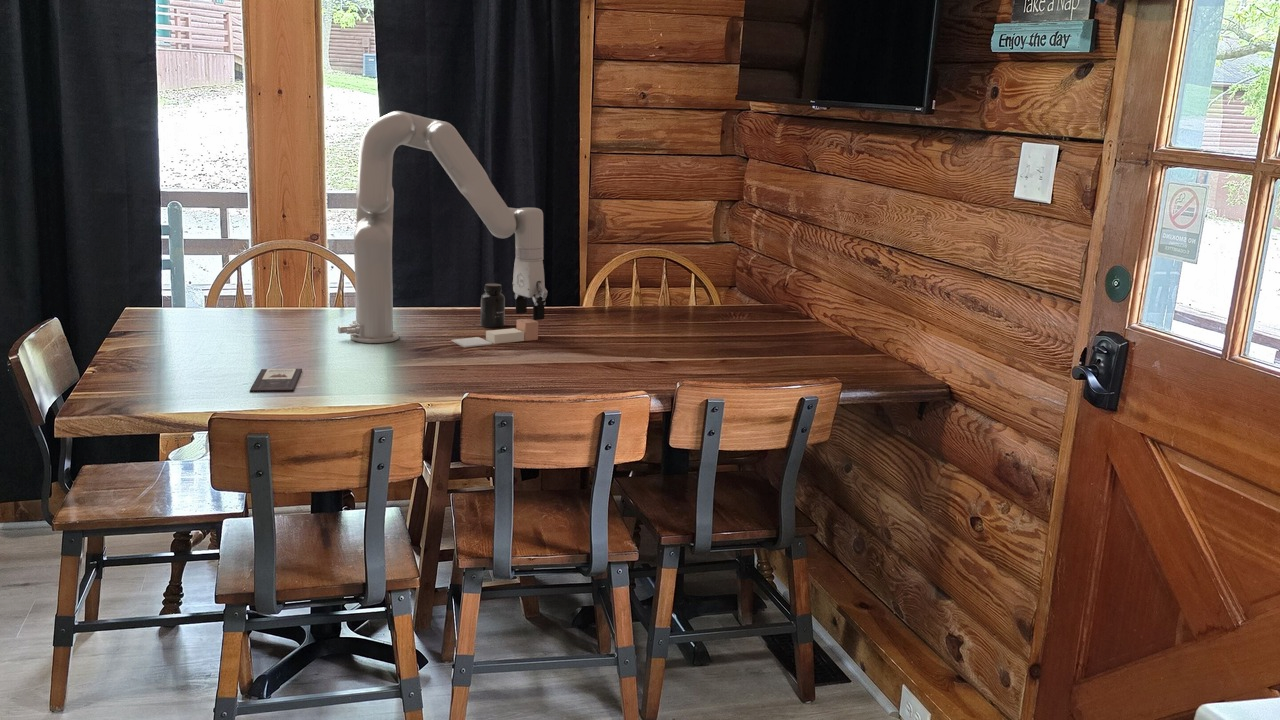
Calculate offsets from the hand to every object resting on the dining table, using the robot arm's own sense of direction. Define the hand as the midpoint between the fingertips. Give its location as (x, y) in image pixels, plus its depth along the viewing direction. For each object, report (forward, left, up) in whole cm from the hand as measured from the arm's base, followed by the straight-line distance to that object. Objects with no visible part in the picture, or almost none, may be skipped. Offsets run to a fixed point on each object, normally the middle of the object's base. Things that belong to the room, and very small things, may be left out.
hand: (529, 316), depth 288 cm
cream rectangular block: (-7, 0, -6) cm, 10 cm away
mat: (-17, +1, -6) cm, 18 cm away
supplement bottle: (-2, +18, -6) cm, 19 cm away
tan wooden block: (-1, 0, -6) cm, 6 cm away
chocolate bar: (-73, -15, -7) cm, 75 cm away
